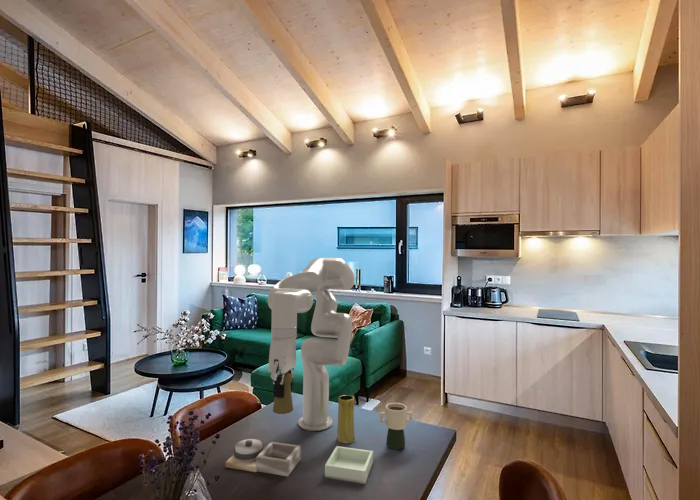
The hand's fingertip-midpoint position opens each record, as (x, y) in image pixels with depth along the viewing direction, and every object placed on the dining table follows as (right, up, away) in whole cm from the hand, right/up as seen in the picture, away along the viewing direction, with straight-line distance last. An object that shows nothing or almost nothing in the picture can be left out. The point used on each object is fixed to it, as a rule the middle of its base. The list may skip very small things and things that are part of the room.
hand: (283, 393), depth 118 cm
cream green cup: (+35, -22, +12) cm, 43 cm away
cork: (0, -5, 0) cm, 5 cm away
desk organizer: (-6, -21, +1) cm, 22 cm away
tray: (+20, -21, -3) cm, 29 cm away
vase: (+18, -22, +16) cm, 33 cm away
